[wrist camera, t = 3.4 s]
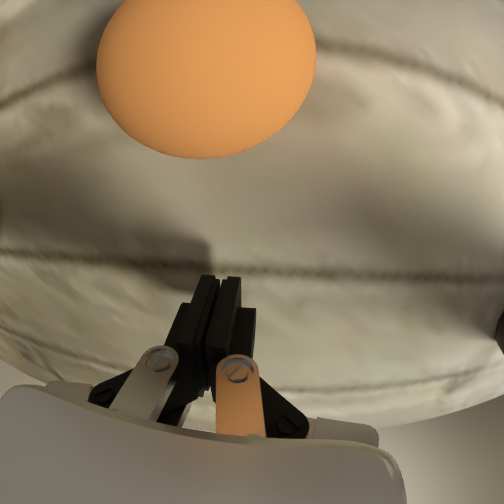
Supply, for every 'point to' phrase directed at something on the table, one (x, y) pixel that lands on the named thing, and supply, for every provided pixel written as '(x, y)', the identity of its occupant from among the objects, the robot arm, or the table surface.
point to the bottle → (500, 334)
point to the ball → (205, 72)
